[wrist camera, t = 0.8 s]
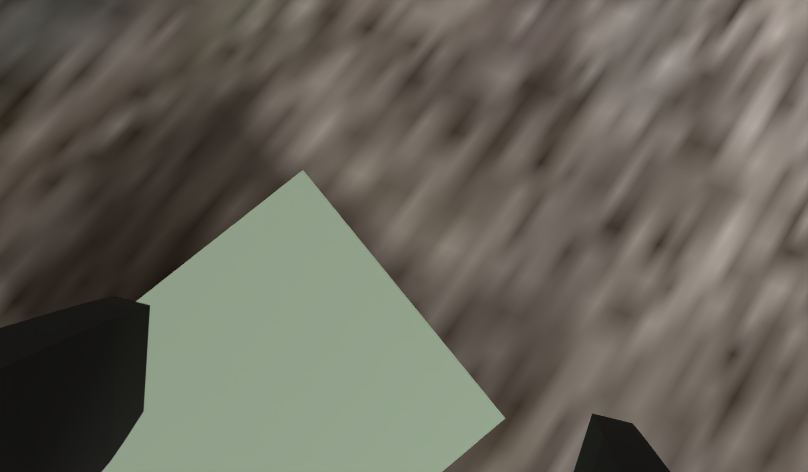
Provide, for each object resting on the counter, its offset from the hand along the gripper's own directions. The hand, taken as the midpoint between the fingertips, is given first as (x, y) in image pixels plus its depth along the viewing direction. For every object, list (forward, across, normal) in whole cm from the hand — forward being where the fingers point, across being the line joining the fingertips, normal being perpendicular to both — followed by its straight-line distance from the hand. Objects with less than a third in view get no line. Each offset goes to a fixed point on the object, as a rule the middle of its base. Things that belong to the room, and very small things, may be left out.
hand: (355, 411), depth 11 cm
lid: (+11, +5, +9) cm, 16 cm away
